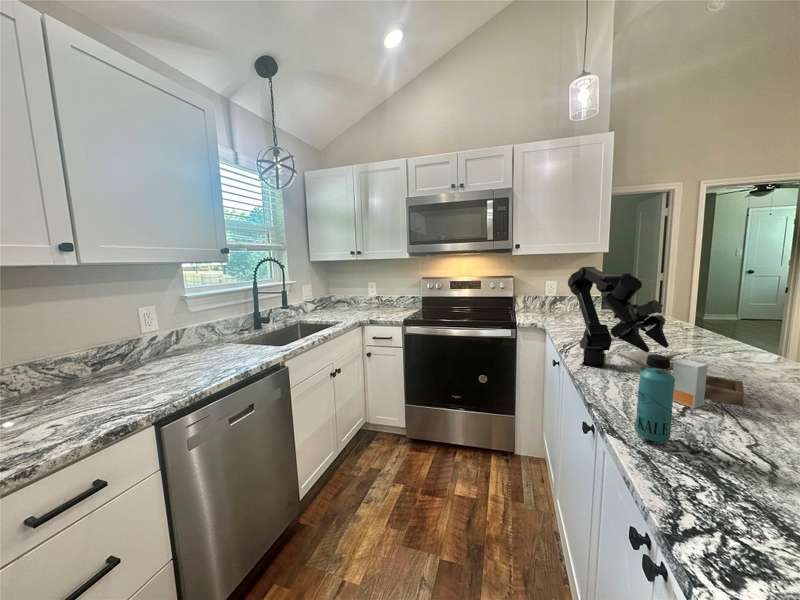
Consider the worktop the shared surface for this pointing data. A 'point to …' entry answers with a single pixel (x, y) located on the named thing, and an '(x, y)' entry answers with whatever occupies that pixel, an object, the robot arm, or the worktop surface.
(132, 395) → the worktop surface
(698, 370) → the skincare box
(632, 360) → the washcloth
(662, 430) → the beverage bottle
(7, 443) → the worktop surface
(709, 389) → the walnut holder
